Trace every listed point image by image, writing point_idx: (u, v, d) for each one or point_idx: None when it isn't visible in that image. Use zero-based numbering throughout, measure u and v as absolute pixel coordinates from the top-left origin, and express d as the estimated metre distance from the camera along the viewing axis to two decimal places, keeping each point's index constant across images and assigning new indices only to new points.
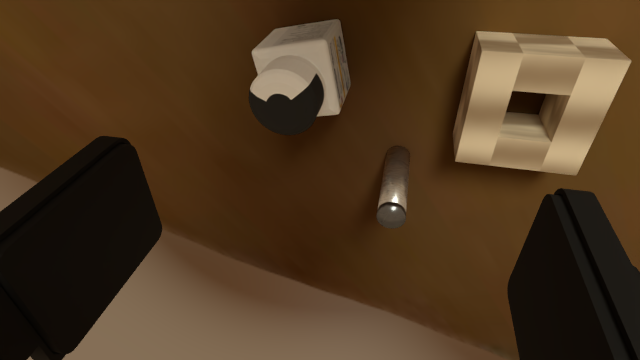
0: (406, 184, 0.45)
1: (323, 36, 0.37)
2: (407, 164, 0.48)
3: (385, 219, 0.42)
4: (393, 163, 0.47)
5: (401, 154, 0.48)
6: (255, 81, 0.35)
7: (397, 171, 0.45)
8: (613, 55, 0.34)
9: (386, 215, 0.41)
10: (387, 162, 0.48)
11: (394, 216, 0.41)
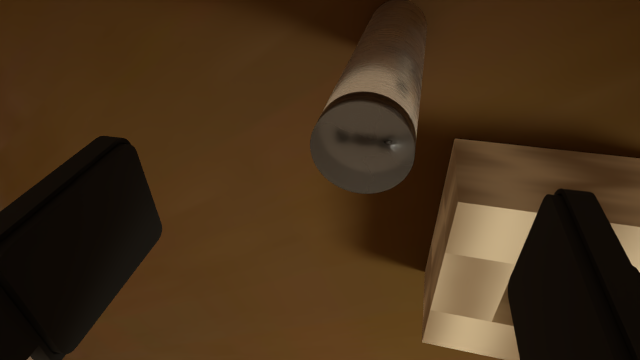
0: None
1: None
2: None
3: (350, 132, 0.11)
4: (423, 49, 0.17)
5: None
6: None
7: None
8: None
9: (369, 138, 0.11)
10: (414, 24, 0.17)
11: (368, 163, 0.11)
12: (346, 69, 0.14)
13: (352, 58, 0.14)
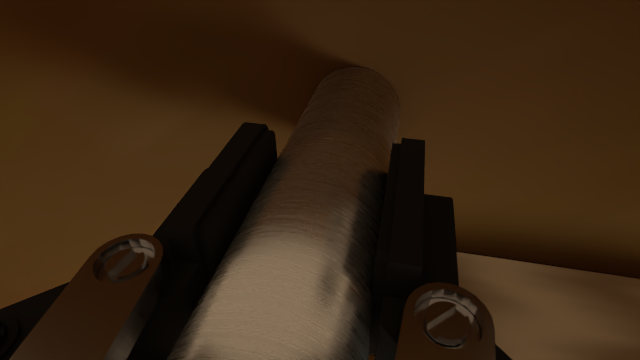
0: None
1: None
2: None
3: None
4: None
5: None
6: None
7: None
8: None
9: None
10: (373, 125, 0.10)
11: None
12: (214, 277, 0.07)
13: (240, 233, 0.07)
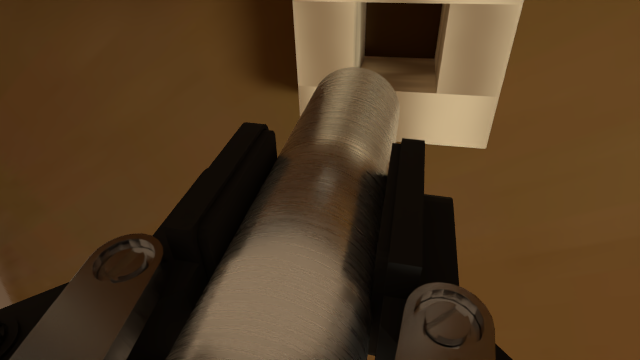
0: None
1: None
2: None
3: None
4: None
5: None
6: None
7: None
8: None
9: None
10: (373, 125, 0.10)
11: None
12: (213, 278, 0.07)
13: (239, 233, 0.07)
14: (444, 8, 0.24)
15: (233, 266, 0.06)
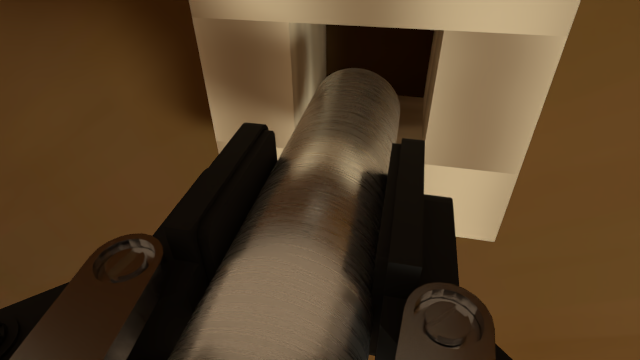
0: None
1: None
2: None
3: None
4: None
5: None
6: None
7: None
8: None
9: None
10: (373, 126, 0.10)
11: None
12: (214, 279, 0.07)
13: (240, 234, 0.07)
14: (437, 31, 0.16)
15: (234, 267, 0.06)
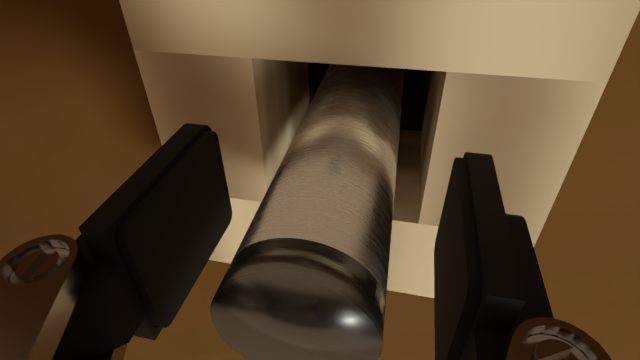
0: None
1: None
2: None
3: (273, 310, 0.06)
4: (399, 109, 0.13)
5: None
6: None
7: None
8: None
9: (305, 319, 0.06)
10: (386, 74, 0.13)
11: (307, 347, 0.07)
12: (283, 163, 0.09)
13: (295, 140, 0.10)
14: None
15: (298, 153, 0.09)
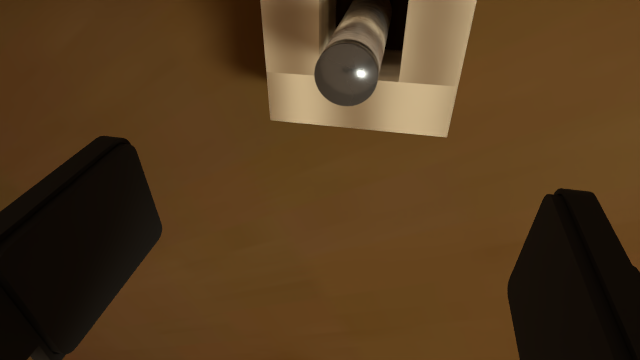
0: None
1: None
2: None
3: (339, 63, 0.18)
4: (388, 22, 0.24)
5: None
6: None
7: None
8: None
9: (350, 67, 0.18)
10: (381, 6, 0.25)
11: (350, 84, 0.19)
12: (335, 31, 0.21)
13: (338, 25, 0.22)
14: None
15: (342, 26, 0.21)
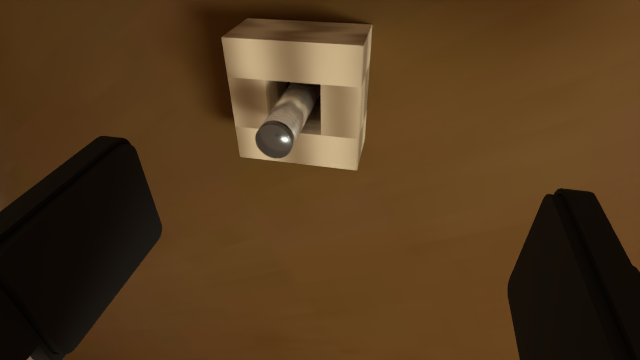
0: None
1: None
2: None
3: (268, 135, 0.31)
4: (314, 96, 0.37)
5: (319, 94, 0.39)
6: None
7: (310, 109, 0.36)
8: (358, 155, 0.38)
9: (275, 137, 0.31)
10: (310, 84, 0.37)
11: (276, 146, 0.31)
12: (272, 109, 0.33)
13: None
14: None
15: (276, 106, 0.33)
